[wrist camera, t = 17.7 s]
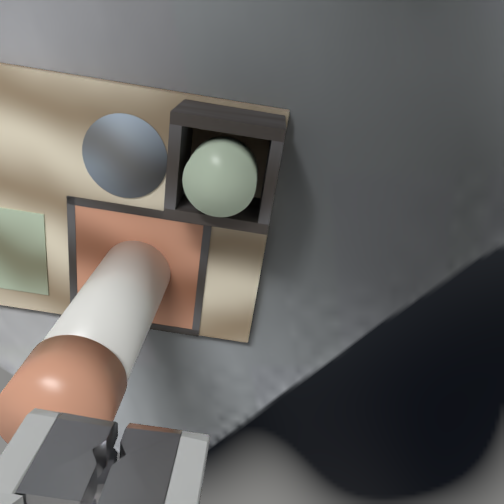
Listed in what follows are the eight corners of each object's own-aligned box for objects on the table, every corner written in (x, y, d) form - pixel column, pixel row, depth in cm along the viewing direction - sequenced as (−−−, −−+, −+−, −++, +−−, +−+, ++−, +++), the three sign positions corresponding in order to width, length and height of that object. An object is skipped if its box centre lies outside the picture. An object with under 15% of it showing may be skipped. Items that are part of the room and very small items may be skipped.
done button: (192, 131, 23) (185, 140, 22) (262, 142, 23) (261, 152, 22) (186, 197, 25) (179, 211, 23) (252, 207, 25) (250, 222, 23)
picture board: (-66, 51, 26) (-131, 57, 22) (289, 109, 26) (291, 126, 22) (-29, 293, 33) (-73, 332, 29) (248, 335, 33) (244, 380, 29)
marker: (102, 233, 29) (-14, 374, 18) (174, 245, 29) (105, 392, 18) (102, 294, 31) (-2, 456, 20) (169, 305, 31) (105, 471, 20)
